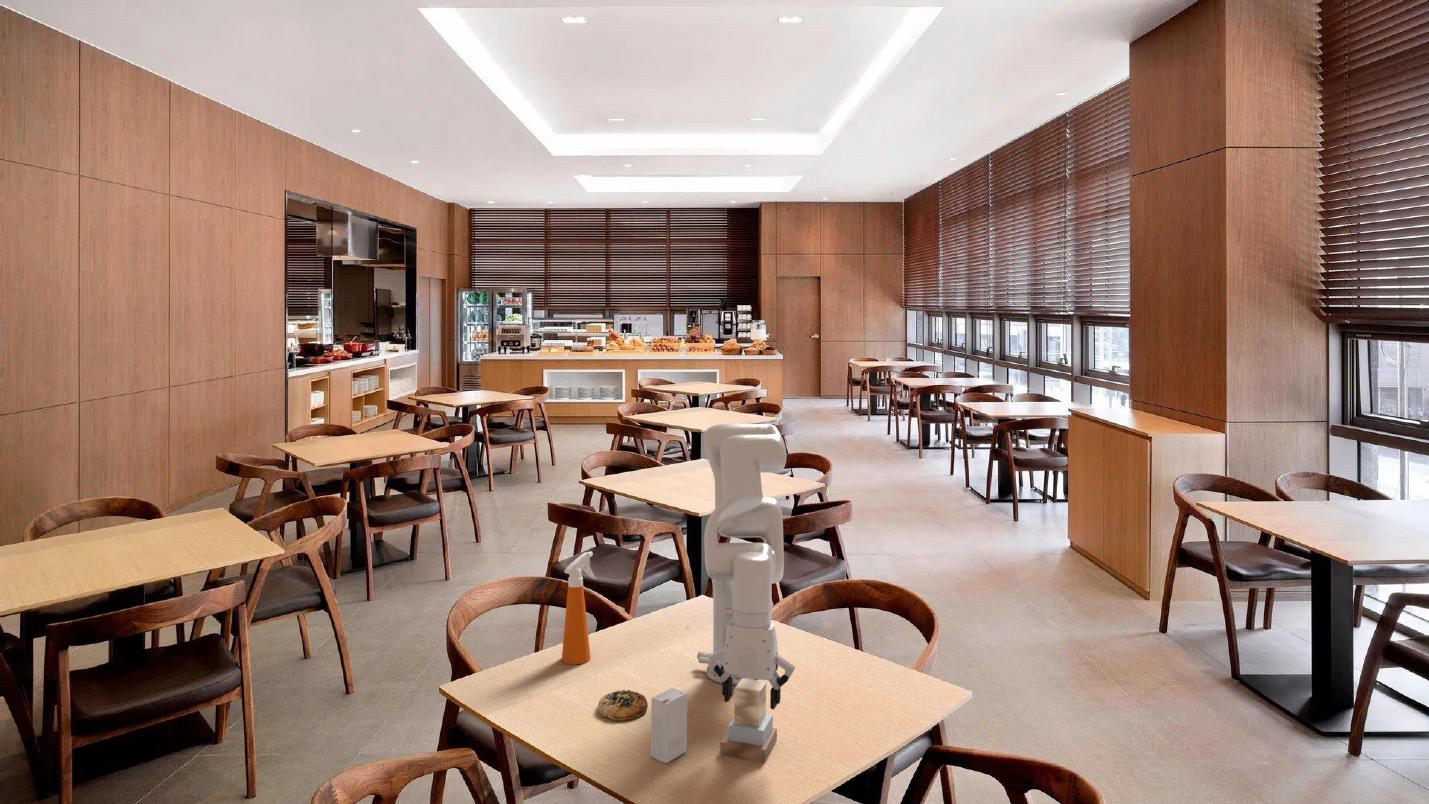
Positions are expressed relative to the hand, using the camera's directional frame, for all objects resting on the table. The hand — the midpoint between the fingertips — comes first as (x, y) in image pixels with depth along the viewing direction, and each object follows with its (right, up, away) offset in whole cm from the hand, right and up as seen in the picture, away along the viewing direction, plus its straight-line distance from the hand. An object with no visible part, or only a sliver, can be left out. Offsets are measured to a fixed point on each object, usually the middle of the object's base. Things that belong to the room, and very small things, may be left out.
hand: (751, 702), depth 160 cm
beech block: (0, -4, +1) cm, 4 cm away
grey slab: (0, -7, +1) cm, 7 cm away
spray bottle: (-41, -6, +45) cm, 61 cm away
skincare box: (-16, -10, -2) cm, 19 cm away
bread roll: (-27, -8, +17) cm, 33 cm away
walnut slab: (0, -10, +1) cm, 10 cm away
